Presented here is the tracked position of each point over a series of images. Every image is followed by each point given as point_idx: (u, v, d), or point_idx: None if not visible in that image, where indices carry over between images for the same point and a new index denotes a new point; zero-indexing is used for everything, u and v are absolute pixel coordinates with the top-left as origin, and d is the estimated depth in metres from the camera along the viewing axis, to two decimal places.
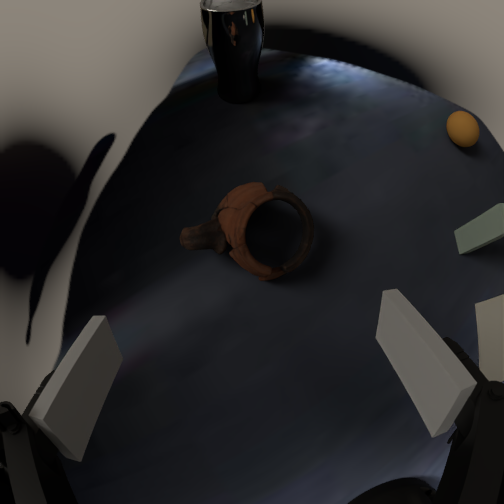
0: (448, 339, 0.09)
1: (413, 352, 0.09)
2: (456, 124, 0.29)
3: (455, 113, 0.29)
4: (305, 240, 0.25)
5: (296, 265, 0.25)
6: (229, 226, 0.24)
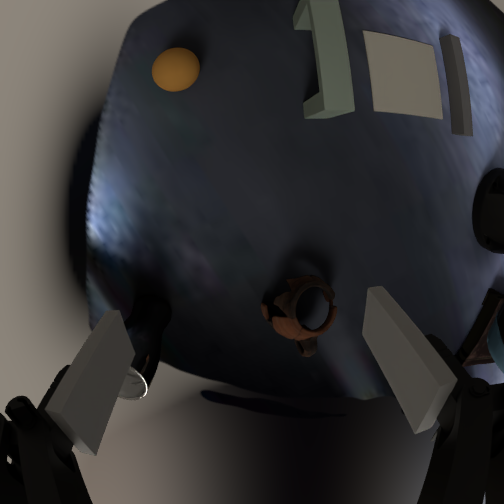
0: (432, 336, 0.09)
1: (395, 348, 0.10)
2: (177, 86, 0.27)
3: (159, 82, 0.26)
4: (317, 286, 0.35)
5: (331, 290, 0.36)
6: (308, 336, 0.36)
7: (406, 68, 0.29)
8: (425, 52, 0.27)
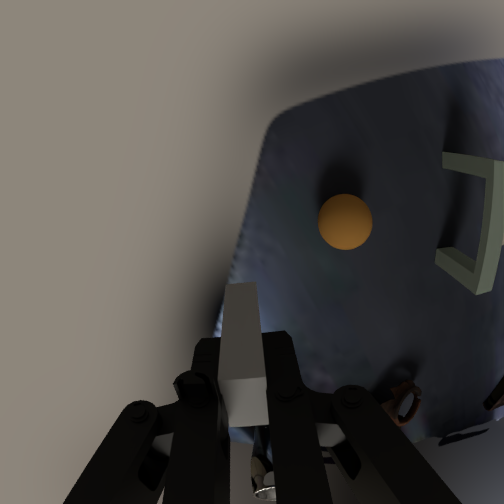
0: (283, 332, 0.11)
1: None
2: (351, 248, 0.27)
3: (333, 243, 0.27)
4: None
5: (420, 390, 0.37)
6: None
7: None
8: None
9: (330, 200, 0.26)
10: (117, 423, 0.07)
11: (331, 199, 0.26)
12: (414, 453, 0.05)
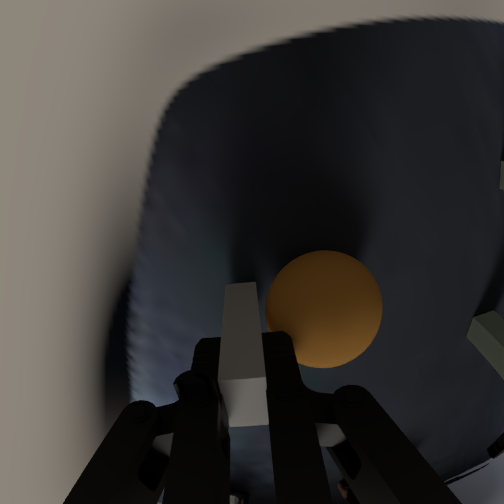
0: (283, 332, 0.11)
1: None
2: None
3: None
4: None
5: None
6: None
7: None
8: None
9: (291, 270, 0.12)
10: (117, 423, 0.07)
11: (294, 267, 0.12)
12: (415, 452, 0.05)
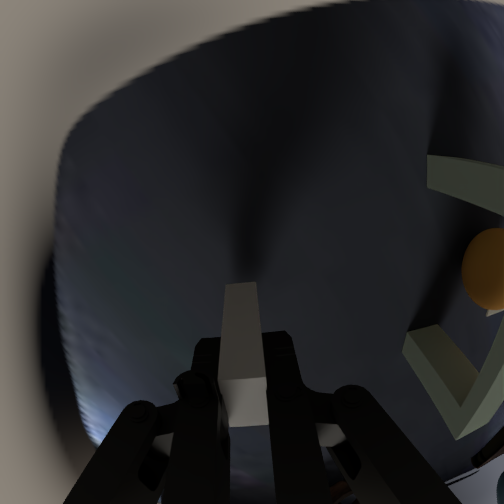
0: (283, 332, 0.11)
1: None
2: None
3: (493, 305, 0.13)
4: (351, 493, 0.23)
5: None
6: None
7: None
8: None
9: (493, 240, 0.13)
10: (117, 423, 0.07)
11: (493, 238, 0.13)
12: (415, 452, 0.05)
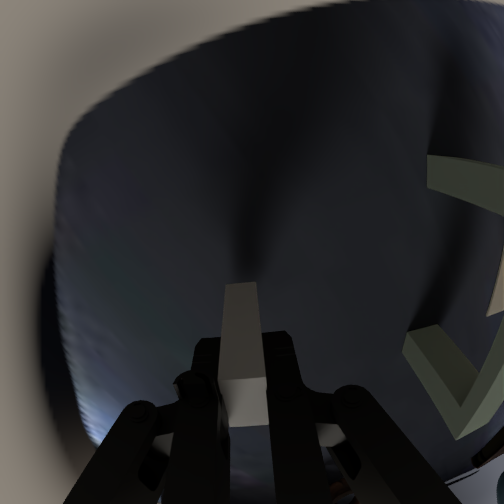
0: (283, 332, 0.11)
1: None
2: None
3: None
4: None
5: None
6: None
7: None
8: None
9: None
10: (117, 423, 0.07)
11: None
12: (415, 452, 0.05)
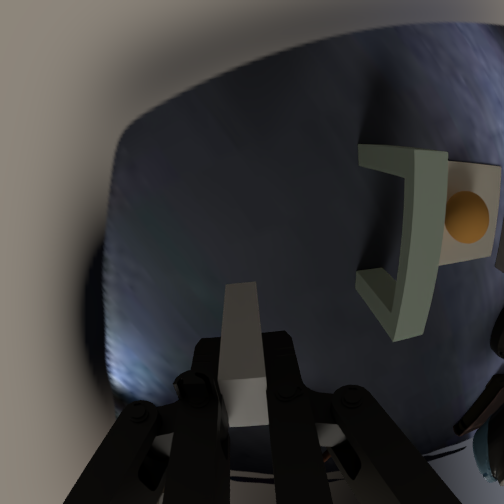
0: (283, 332, 0.11)
1: None
2: None
3: None
4: None
5: None
6: None
7: None
8: (493, 178, 0.24)
9: (479, 196, 0.22)
10: (117, 423, 0.07)
11: (479, 196, 0.22)
12: (415, 452, 0.05)
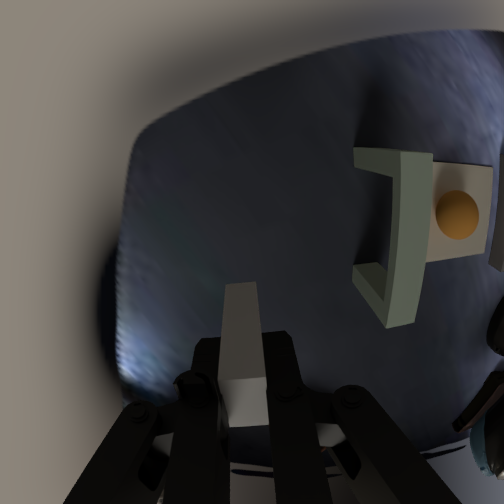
0: (283, 332, 0.11)
1: None
2: None
3: None
4: None
5: None
6: None
7: None
8: (484, 178, 0.26)
9: (469, 195, 0.24)
10: (117, 423, 0.07)
11: None
12: (415, 452, 0.05)
